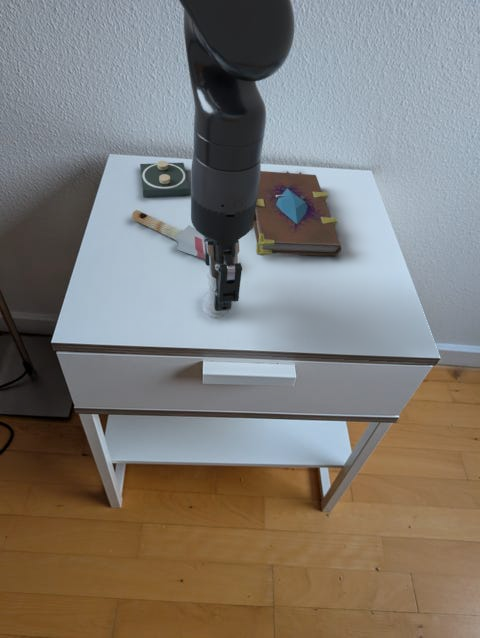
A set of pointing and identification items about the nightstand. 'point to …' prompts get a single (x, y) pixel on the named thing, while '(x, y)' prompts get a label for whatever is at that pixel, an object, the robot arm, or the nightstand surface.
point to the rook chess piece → (212, 299)
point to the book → (293, 216)
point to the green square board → (156, 188)
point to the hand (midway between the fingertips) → (217, 285)
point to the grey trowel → (175, 234)
